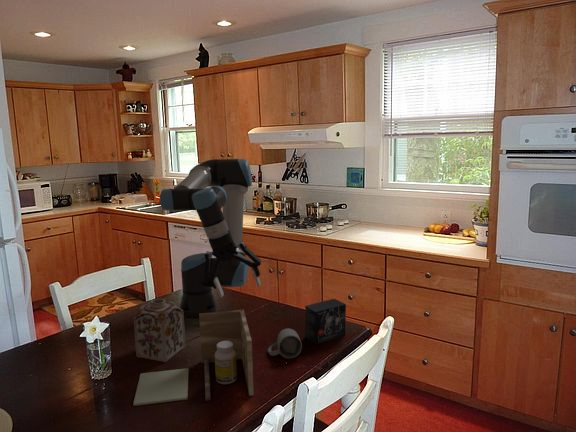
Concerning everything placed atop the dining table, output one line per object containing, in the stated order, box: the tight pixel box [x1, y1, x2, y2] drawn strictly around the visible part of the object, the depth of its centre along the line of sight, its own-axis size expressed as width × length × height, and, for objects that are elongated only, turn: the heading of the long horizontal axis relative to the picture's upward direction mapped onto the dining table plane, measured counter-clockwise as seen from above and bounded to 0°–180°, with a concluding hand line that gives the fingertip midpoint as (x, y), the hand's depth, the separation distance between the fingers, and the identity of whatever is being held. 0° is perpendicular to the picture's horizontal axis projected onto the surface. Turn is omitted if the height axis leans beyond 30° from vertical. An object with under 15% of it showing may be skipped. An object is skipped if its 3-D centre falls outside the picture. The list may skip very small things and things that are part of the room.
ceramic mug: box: [267, 327, 303, 359], centre depth 148 cm, size 11×8×8 cm
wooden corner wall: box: [199, 309, 255, 402], centre depth 133 cm, size 23×14×16 cm, turn 11°
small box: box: [304, 298, 347, 345], centre depth 159 cm, size 13×7×12 cm, turn 123°
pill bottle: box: [214, 341, 238, 385], centre depth 132 cm, size 6×6×11 cm
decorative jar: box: [133, 298, 186, 363], centre depth 149 cm, size 12×12×18 cm
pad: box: [133, 367, 189, 406], centre depth 130 cm, size 16×14×1 cm
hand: (240, 290), depth 155 cm, fingers open, 13 cm apart
